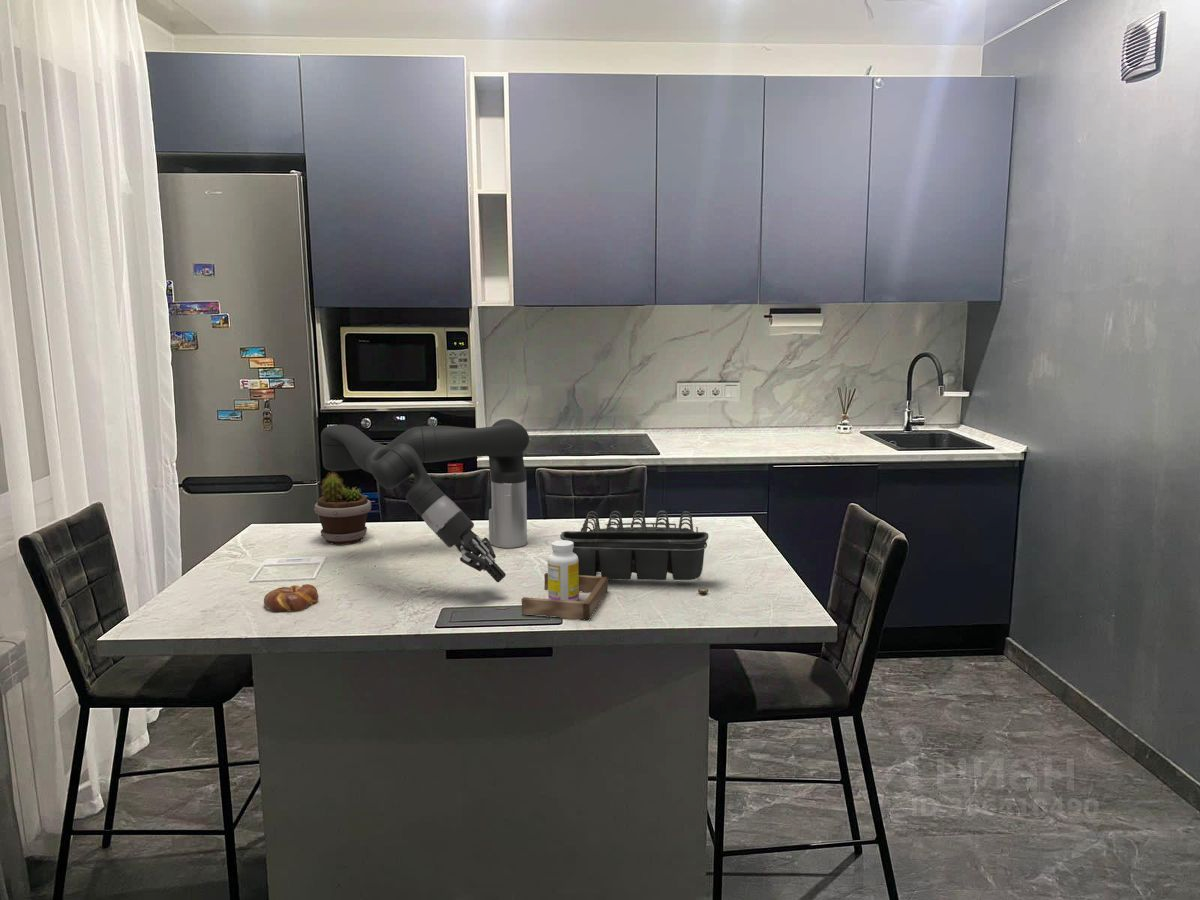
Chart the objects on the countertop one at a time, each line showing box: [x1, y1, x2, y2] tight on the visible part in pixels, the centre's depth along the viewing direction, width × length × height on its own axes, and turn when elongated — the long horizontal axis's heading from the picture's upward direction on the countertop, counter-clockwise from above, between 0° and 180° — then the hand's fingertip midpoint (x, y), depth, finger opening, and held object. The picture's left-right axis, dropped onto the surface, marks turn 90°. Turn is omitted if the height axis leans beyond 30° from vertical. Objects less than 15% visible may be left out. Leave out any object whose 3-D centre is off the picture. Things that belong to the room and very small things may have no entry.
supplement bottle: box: [547, 539, 580, 601], centre depth 192 cm, size 7×7×13 cm
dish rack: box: [559, 510, 709, 581], centre depth 222 cm, size 34×44×12 cm
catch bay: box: [521, 572, 609, 621], centre depth 191 cm, size 14×18×4 cm
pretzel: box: [263, 583, 320, 613], centre depth 190 cm, size 12×11×4 cm
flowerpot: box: [313, 471, 372, 546], centre depth 239 cm, size 14×15×20 cm
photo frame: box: [248, 555, 327, 584], centre depth 214 cm, size 15×1×18 cm
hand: (502, 578), depth 193 cm, fingers closed
